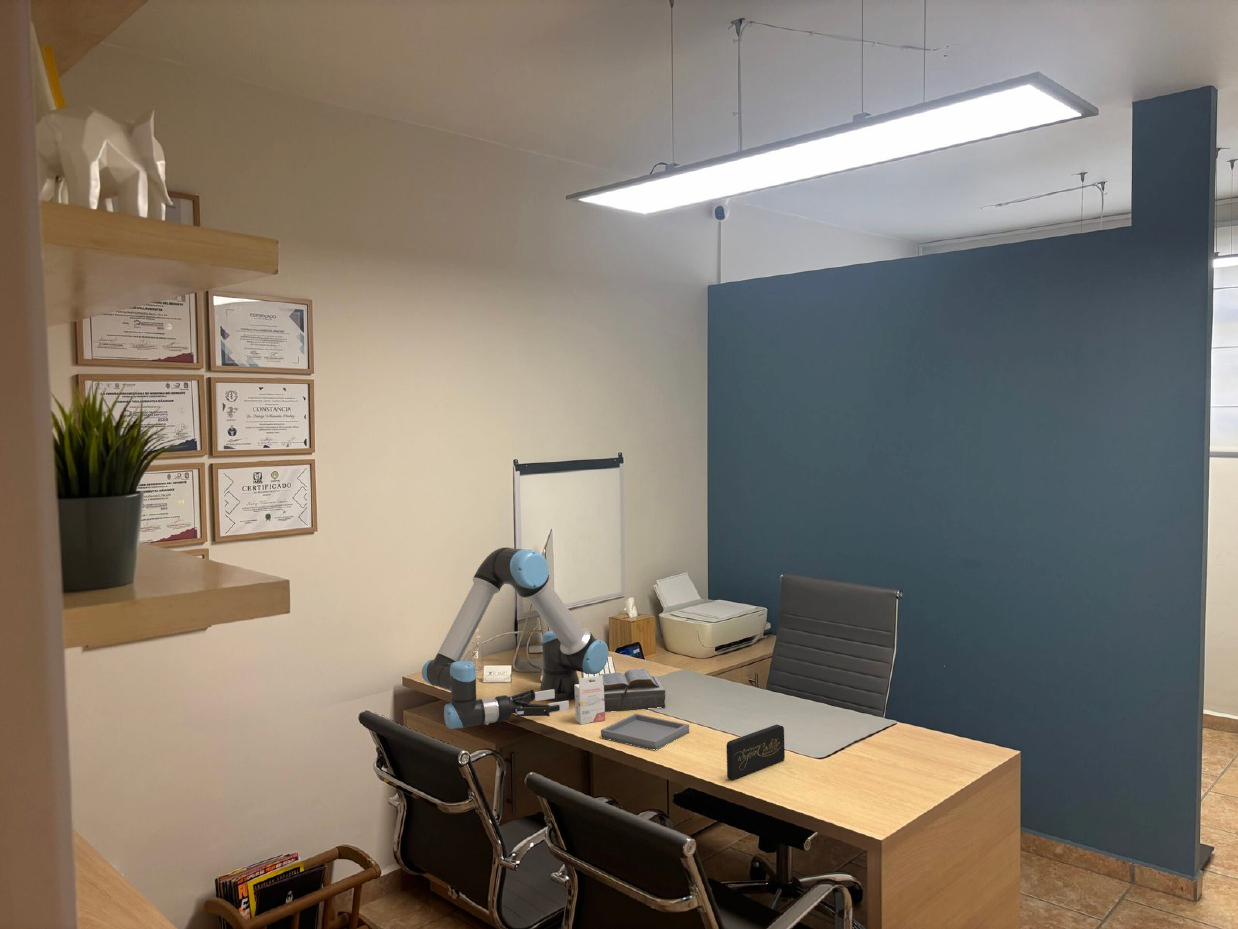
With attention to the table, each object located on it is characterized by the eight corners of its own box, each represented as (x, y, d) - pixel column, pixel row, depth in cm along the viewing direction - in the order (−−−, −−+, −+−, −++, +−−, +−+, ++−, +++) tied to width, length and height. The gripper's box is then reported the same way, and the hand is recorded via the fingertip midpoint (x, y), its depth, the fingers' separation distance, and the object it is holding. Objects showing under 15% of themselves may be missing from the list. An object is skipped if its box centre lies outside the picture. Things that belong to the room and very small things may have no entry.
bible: (665, 714, 290) (664, 684, 290) (583, 714, 292) (582, 684, 292) (667, 692, 314) (666, 665, 313) (591, 693, 316) (590, 665, 315)
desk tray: (635, 721, 283) (635, 713, 283) (689, 732, 271) (688, 724, 271) (601, 738, 268) (600, 729, 268) (655, 750, 256) (655, 742, 256)
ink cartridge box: (599, 716, 289) (598, 671, 288) (605, 721, 284) (604, 675, 284) (575, 720, 286) (573, 675, 285) (580, 725, 281) (578, 678, 280)
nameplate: (732, 781, 233) (731, 744, 232) (727, 779, 234) (726, 742, 234) (784, 761, 246) (784, 725, 246) (779, 759, 247) (778, 723, 247)
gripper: (485, 710, 284) (548, 700, 292) (507, 733, 261) (575, 722, 269) (484, 687, 284) (548, 678, 292) (506, 708, 261) (574, 698, 269)
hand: (561, 699), depth 281 cm, fingers open, 13 cm apart
